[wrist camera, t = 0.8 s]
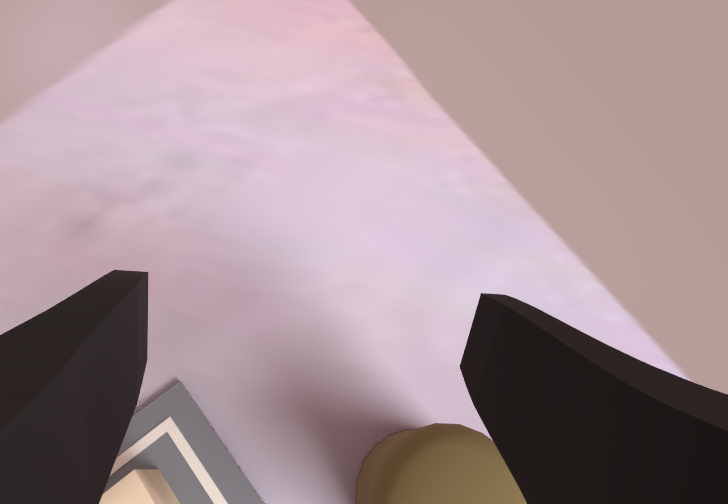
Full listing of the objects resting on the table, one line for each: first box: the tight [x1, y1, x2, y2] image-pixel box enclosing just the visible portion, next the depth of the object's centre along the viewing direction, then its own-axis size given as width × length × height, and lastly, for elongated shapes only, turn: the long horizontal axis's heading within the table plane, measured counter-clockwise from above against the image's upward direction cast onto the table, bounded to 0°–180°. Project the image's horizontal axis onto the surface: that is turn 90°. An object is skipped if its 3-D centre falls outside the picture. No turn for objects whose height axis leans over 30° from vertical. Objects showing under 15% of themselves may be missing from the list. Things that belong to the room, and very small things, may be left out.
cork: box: [356, 423, 527, 504], centre depth 20 cm, size 6×6×11 cm
